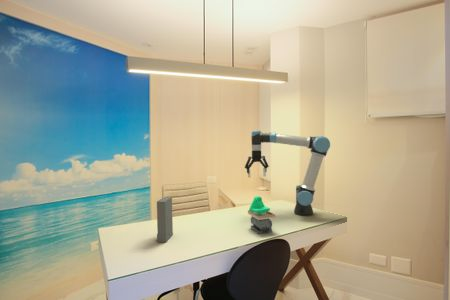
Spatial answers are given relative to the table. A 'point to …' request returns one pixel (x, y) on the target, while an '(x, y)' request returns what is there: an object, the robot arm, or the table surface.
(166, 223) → the grey upright slab
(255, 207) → the green piece
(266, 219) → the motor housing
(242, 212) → the table surface
